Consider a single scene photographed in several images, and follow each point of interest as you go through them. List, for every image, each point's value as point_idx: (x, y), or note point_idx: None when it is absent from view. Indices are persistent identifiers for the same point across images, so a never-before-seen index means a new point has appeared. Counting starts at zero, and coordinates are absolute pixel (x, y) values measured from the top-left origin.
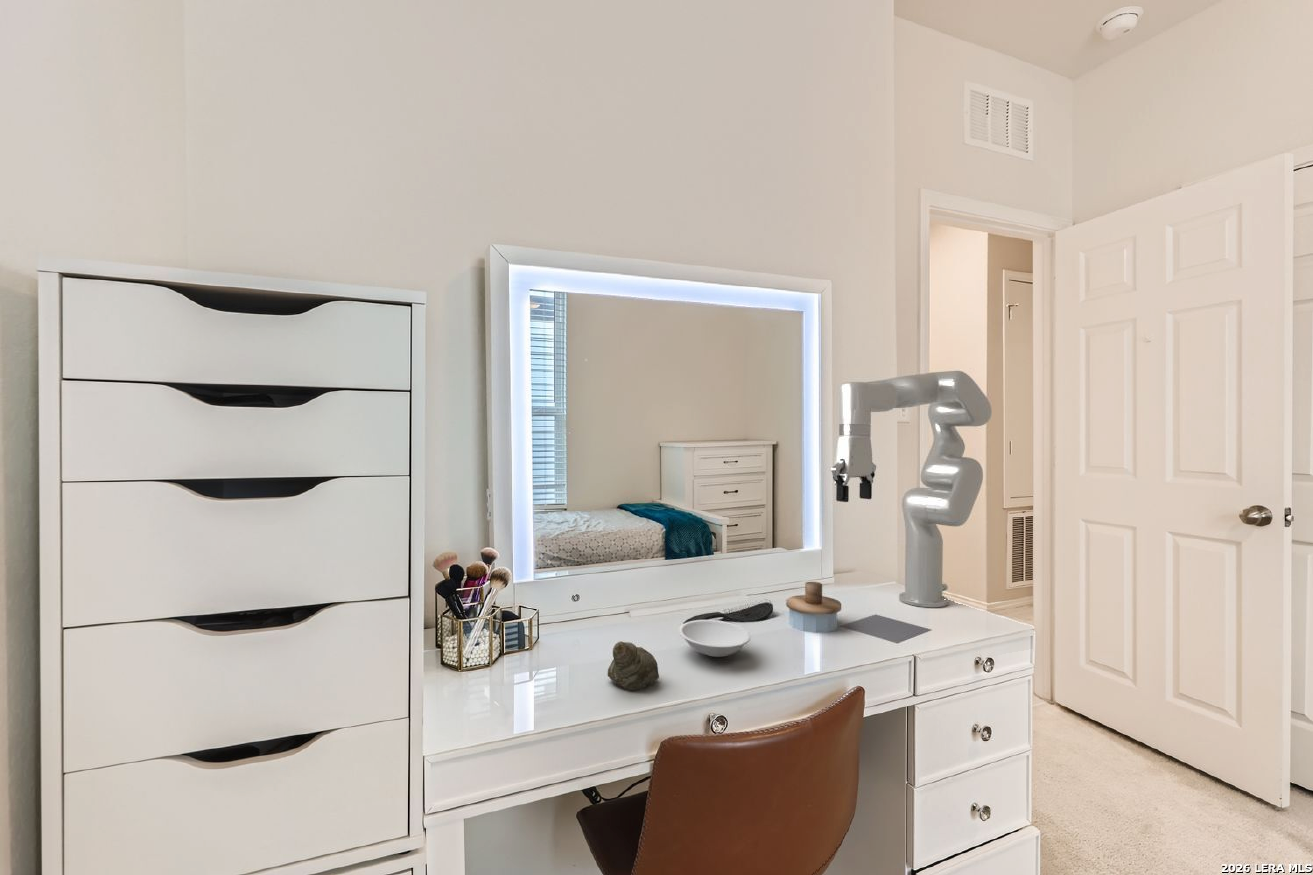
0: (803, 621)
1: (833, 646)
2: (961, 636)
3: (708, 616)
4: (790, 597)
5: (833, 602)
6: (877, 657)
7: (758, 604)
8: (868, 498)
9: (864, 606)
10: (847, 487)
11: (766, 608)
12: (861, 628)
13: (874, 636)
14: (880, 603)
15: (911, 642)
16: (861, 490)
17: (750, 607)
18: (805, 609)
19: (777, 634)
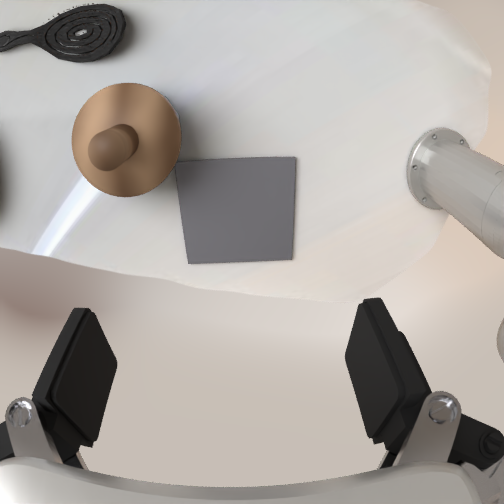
0: None
1: (103, 216)
2: (303, 288)
3: (10, 46)
4: (106, 89)
5: (157, 164)
6: (129, 271)
7: (115, 10)
8: (346, 353)
9: (338, 106)
10: (83, 435)
11: (108, 38)
12: (196, 193)
13: (183, 229)
14: (380, 117)
15: (218, 266)
16: (375, 355)
17: (104, 6)
18: (79, 168)
19: (64, 134)
